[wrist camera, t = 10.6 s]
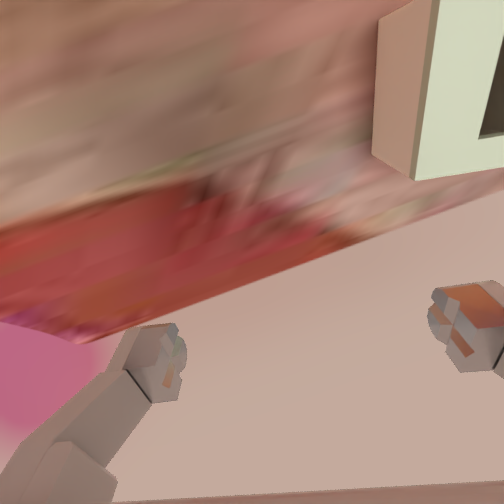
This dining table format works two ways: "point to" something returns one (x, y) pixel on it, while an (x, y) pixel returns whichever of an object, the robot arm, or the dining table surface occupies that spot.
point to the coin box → (440, 88)
